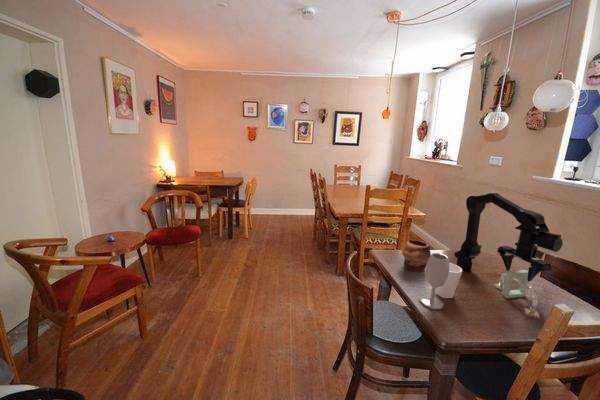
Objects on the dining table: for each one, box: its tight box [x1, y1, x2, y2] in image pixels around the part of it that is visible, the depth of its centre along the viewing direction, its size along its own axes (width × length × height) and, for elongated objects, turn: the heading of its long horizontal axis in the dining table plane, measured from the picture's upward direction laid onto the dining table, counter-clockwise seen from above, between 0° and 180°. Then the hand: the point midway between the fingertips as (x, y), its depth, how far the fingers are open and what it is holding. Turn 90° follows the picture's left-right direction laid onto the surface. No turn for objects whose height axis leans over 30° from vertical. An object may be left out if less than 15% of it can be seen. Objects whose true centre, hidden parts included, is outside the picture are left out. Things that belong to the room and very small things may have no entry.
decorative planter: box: [401, 239, 432, 273], centre depth 137 cm, size 20×12×14 cm, turn 126°
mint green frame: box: [500, 269, 529, 299], centre depth 115 cm, size 10×3×12 cm, turn 102°
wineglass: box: [418, 252, 450, 310], centre depth 105 cm, size 9×9×21 cm
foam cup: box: [435, 262, 463, 299], centre depth 113 cm, size 10×9×13 cm
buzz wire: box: [492, 272, 540, 320], centre depth 112 cm, size 5×25×9 cm, turn 173°
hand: (518, 275), depth 114 cm, fingers open, 9 cm apart
